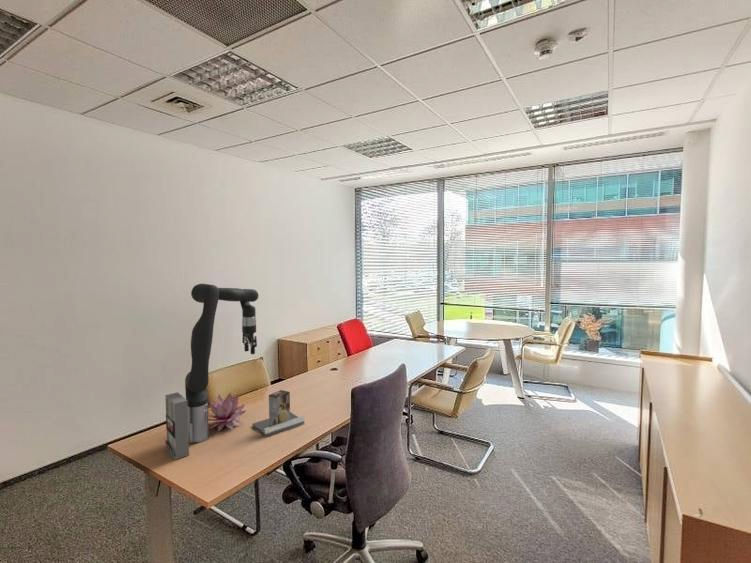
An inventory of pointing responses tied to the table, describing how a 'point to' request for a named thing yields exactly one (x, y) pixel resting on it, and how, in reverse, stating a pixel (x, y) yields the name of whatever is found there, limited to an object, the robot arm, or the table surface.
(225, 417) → the decorative flower
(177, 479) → the table surface
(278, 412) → the coffee box
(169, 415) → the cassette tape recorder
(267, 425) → the shelf
